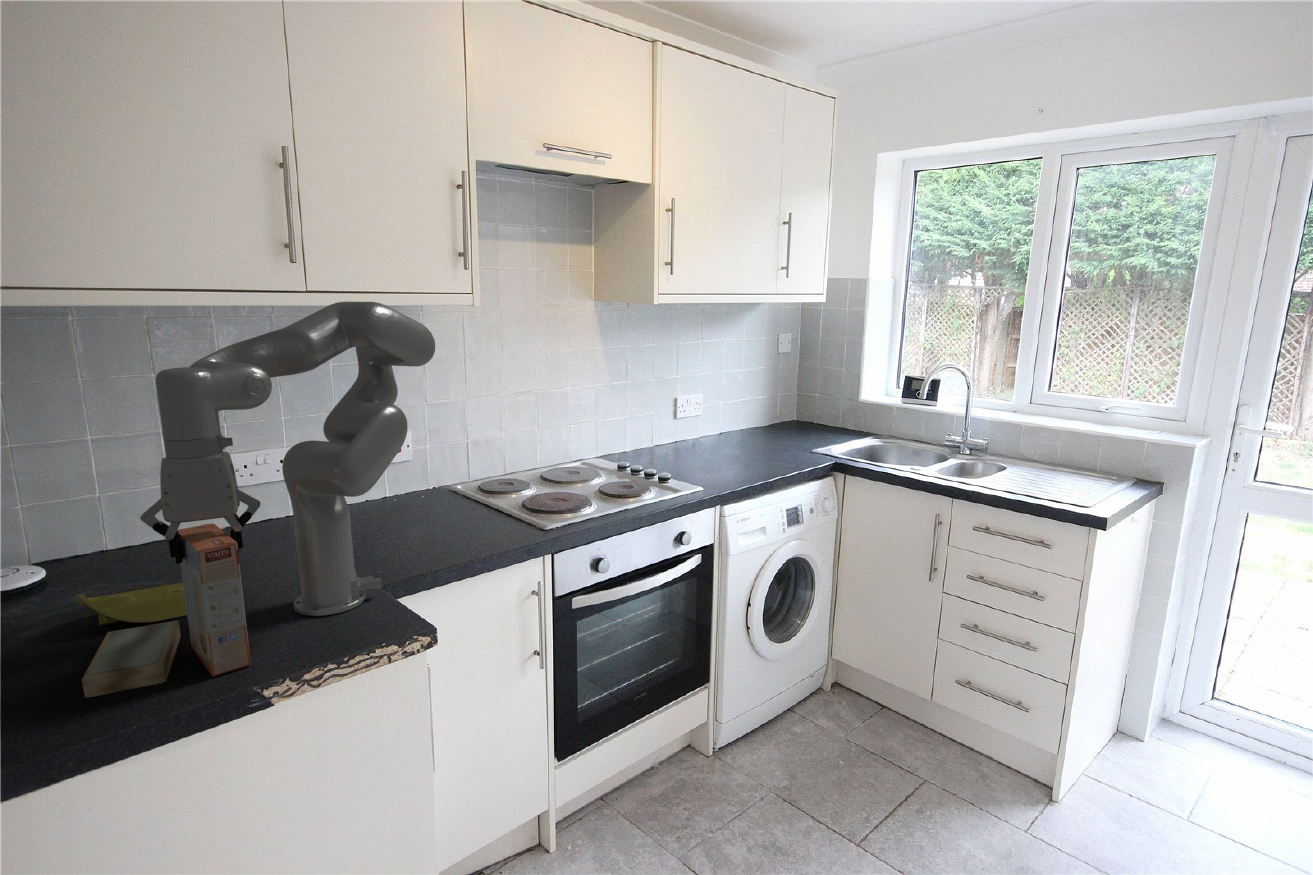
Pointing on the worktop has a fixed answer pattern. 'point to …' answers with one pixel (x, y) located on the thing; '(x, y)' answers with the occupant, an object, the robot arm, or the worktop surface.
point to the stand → (132, 659)
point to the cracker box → (214, 598)
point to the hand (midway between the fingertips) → (208, 556)
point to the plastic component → (139, 605)
